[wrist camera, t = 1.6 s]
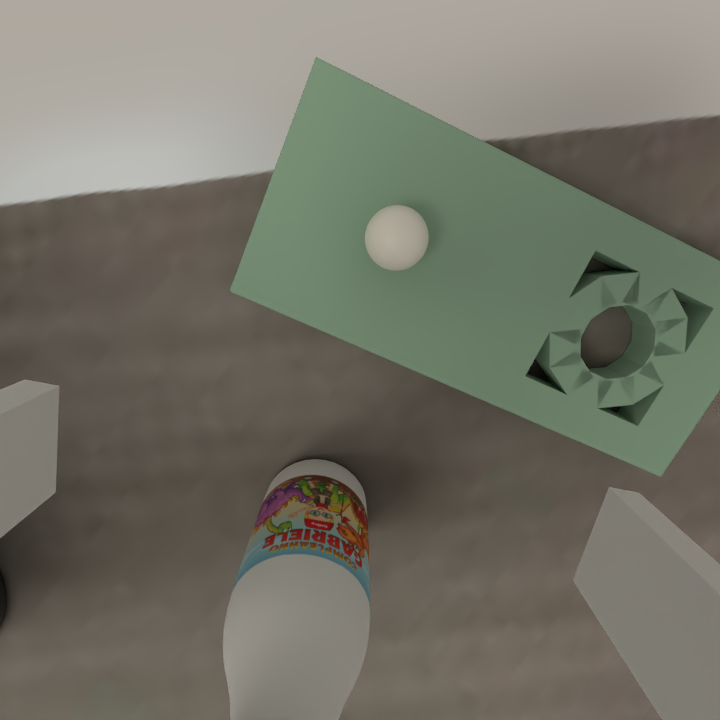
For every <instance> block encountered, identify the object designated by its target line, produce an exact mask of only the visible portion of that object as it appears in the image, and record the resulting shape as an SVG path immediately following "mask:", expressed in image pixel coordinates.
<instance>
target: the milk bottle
mask: <svg viewBox="0 0 720 720" xmlns="http://www.w3.org/2000/svg"><path fill="white" fill-rule="evenodd" d="M369 629H370V571H369V544H368V522H367V505H366V498H365V494H364V491H363V488H362V486H361V484H360V483H359V481H358V480H357V479H356V477H355V476H354V475H353V474H352V473H351V472H350V471H348V470H347V469H345V468H344V467H343V466H341V465H338V464H336V463H334V462H331V461H327V460H320V459H311V460H303V461H300V462H297V463H294V464H292V465H290V466H288V467H286V468H285V469H283V470H282V471H281V472H280V473H279V474H278V475H277V476H276V477H275V478H274V479H273V481H272V482H271V484H270V486H269V488H268V490H267V493H266V495H265V498H264V500H263V503H262V506H261V509H260V511H259V514H258V517H257V520H256V523H255V525H254V528H253V531H252V534H251V537H250V540H249V542H248V545H247V548H246V551H245V554H244V557H243V560H242V563H241V566H240V569H239V572H238V575H237V578H236V581H235V584H234V588H233V591H232V594H231V598H230V601H229V604H228V608H227V614H226V619H225V624H224V634H223V659H224V667H225V673H226V678H227V684H228V690H229V698H230V720H339V717H340V714H341V712H342V709H343V707H344V705H345V703H346V701H347V699H348V696H349V694H350V693H351V691H352V689H353V687H354V684H355V682H356V680H357V678H358V675H359V673H360V670H361V667H362V664H363V661H364V658H365V654H366V649H367V644H368V638H369Z"/></svg>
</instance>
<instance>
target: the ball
mask: <svg viewBox="0 0 720 720" xmlns="http://www.w3.org/2000/svg"><path fill="white" fill-rule="evenodd" d="M428 240H429V234H428V229H427V225H426V223H425V221H424V219H423V218H422V217H421V215H420V214H419V213H418V212H416V211H415V210H414V209H412V208H410V207H407V206H403V205H392V206H388V207H385V208H383V209H381V210H380V211H378V212H377V213H376V214H375V215H374V216H373V217H372V218H371V220H370V221H369V223H368V225H367V228H366V232H365V245H366V249H367V252H368V254H369V256H370V257H371V259H372V260H373V261H374V262H375V263H376V264H377V265H379V266H380V267H382V268H384V269H387V270H392V271H400V270H405V269H408V268H410V267H412V266H413V265H415V264H416V263H417V262H418V261H419V260H420V259H421V258H422V257H423V255H424V253H425V251H426V249H427V246H428Z"/></svg>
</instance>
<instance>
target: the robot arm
mask: <svg viewBox="0 0 720 720" xmlns="http://www.w3.org/2000/svg"><path fill="white" fill-rule="evenodd" d="M58 411H59V386H58V385H52V384H47V383H41V382H36V381H30V380H22V381H20V382H17V383H15V384H12V385H10V386H8V387H5V388H3V389H0V538H1V537H2V536H4V535H5V534H6V533H7V532H8V531H10V530H11V529H12V528H13V527H14V526H16V525H17V524H18V523H19V522H20V521H22V520H23V519H24V518H25V517H27V516H28V515H29V514H30V513H31V512H33V511H34V510H35V509H36V508H37V507H39V506H40V505H41V504H42V503H43V502H45V501H46V500H47V499H48V498H49V497H51V496H52V495H53V494H54V493H56V473H57V442H58ZM573 582H574V583H575V585H576V586H577V588H578V589H579V591H580V592H581V594H582V596H583V597H584V599H585V600H586V602H587V603H588V605H589V607H590V608H591V610H592V611H593V613H594V614H595V616H596V618H597V619H598V621H599V622H600V624H601V625H602V627H603V628H604V630H605V632H606V633H607V635H608V636H609V638H610V639H611V641H612V643H613V644H614V646H615V647H616V649H617V650H618V652H619V654H620V655H621V657H622V658H623V660H624V661H625V663H626V665H627V666H628V668H629V669H630V671H631V672H632V674H633V675H634V677H635V679H636V680H637V682H638V683H639V685H640V686H641V688H642V690H643V691H644V693H645V694H646V696H647V697H648V699H649V701H650V702H651V704H652V705H653V707H654V708H655V710H656V711H657V713H658V715H659V716H660V718H661V719H662V720H720V564H719V563H718V562H716V561H715V560H714V559H713V558H712V557H711V556H710V555H709V554H707V553H706V552H705V551H704V550H703V549H702V548H701V547H700V546H698V545H697V544H696V543H695V542H694V541H693V540H692V539H690V538H689V537H688V536H687V535H686V534H685V533H684V532H683V531H681V530H680V529H679V528H678V527H677V526H676V525H675V524H674V523H672V522H671V521H670V520H669V519H668V518H667V517H666V516H665V515H663V514H662V513H661V512H660V511H659V510H658V509H657V508H656V507H654V506H653V505H652V504H651V503H650V502H649V501H648V500H647V499H645V498H644V497H643V496H642V495H641V494H640V493H638V492H633V491H628V490H622V489H617V488H611V487H609V488H608V491H607V493H606V496H605V499H604V501H603V504H602V506H601V509H600V512H599V514H598V517H597V519H596V522H595V525H594V527H593V530H592V532H591V535H590V537H589V540H588V543H587V545H586V548H585V550H584V553H583V556H582V558H581V561H580V563H579V566H578V568H577V571H576V574H575V576H574V579H573ZM5 606H6V596H5V588H4V584H3V581H2V578H1V575H0V624H1V622H2V619H3V617H4V612H5Z"/></svg>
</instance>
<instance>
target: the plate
mask: <svg viewBox="0 0 720 720" xmlns="http://www.w3.org/2000/svg"><path fill="white" fill-rule="evenodd" d="M392 205H403V206H407V207H410V208H412V209H414V210H415V211H416V212H418V213H419V214H420V215H421V217H422V218H423V219H424V221H425V223H426V225H427V229H428V234H429V240H428V246H427V249H426V251H425V253H424V255H423V257H422V258H421V259H420V260H419V261H418V262H417V263H416V264H415V265H413V266H412V267H410V268H408V269H405V270H400V271H392V270H387V269H384V268H382V267H380V266H379V265H377V264H376V263H375V262H374V261H373V260H372V259H371V257H370V256H369V254H368V252H367V249H366V245H365V232H366V228H367V225H368V223H369V221H370V220H371V218H372V217H373V216H374V215H375V214H376V213H377V212H378V211H380V210H381V209H383V208H385V207H388V206H392ZM591 258H594V259H596V260H598V261H600V262H602V263H604V264H606V265H608V266H610V267H612V268H614V269H616V270H611V271H601V272H592V273H583V272H584V270H585V268H586V267H587V265H588V263H589V261H590V260H591ZM230 292H233V293H235V294H237V295H240V296H242V297H244V298H246V299H249V300H251V301H253V302H256V303H258V304H260V305H263V306H265V307H267V308H270V309H272V310H274V311H277V312H279V313H281V314H284V315H286V316H288V317H291V318H293V319H295V320H298V321H300V322H302V323H305V324H307V325H309V326H312V327H314V328H316V329H319V330H321V331H323V332H325V333H328V334H330V335H332V336H335V337H337V338H339V339H342V340H344V341H346V342H349V343H351V344H353V345H356V346H358V347H360V348H363V349H365V350H367V351H370V352H372V353H374V354H377V355H379V356H381V357H384V358H386V359H388V360H391V361H393V362H395V363H397V364H400V365H402V366H404V367H407V368H409V369H411V370H414V371H416V372H418V373H421V374H423V375H425V376H428V377H430V378H432V379H435V380H437V381H439V382H442V383H444V384H446V385H449V386H451V387H453V388H456V389H458V390H460V391H463V392H465V393H467V394H469V395H472V396H474V397H476V398H479V399H481V400H483V401H486V402H488V403H490V404H493V405H495V406H497V407H500V408H502V409H504V410H507V411H509V412H511V413H514V414H516V415H518V416H521V417H523V418H525V419H528V420H530V421H532V422H535V423H537V424H539V425H542V426H544V427H546V428H548V429H551V430H553V431H555V432H558V433H560V434H562V435H565V436H567V437H569V438H572V439H574V440H576V441H579V442H581V443H583V444H586V445H588V446H590V447H593V448H595V449H597V450H600V451H602V452H604V453H607V454H609V455H611V456H614V457H616V458H618V459H620V460H623V461H625V462H627V463H630V464H632V465H634V466H637V467H639V468H641V469H644V470H646V471H648V472H651V473H653V474H655V475H658V476H660V477H661V476H662V474H663V473H664V471H665V470H666V468H667V467H668V465H669V464H670V462H671V461H672V460H673V458H674V457H675V455H676V454H677V452H678V451H679V449H680V448H681V446H682V445H683V443H684V442H685V440H686V439H687V437H688V436H689V435H690V433H691V432H692V430H693V429H694V427H695V426H696V424H697V423H698V421H699V420H700V418H701V417H702V415H703V414H704V412H705V411H706V410H707V408H708V407H709V405H710V404H711V402H712V401H713V399H714V398H715V396H716V395H717V393H718V392H719V390H720V261H719V260H717V259H715V258H713V257H711V256H709V255H707V254H705V253H703V252H701V251H699V250H697V249H695V248H693V247H691V246H689V245H687V244H686V243H684V242H682V241H680V240H678V239H676V238H674V237H672V236H670V235H668V234H666V233H664V232H662V231H660V230H658V229H656V228H654V227H652V226H650V225H648V224H646V223H644V222H642V221H640V220H638V219H636V218H634V217H632V216H630V215H628V214H626V213H624V212H622V211H620V210H618V209H616V208H614V207H612V206H610V205H608V204H606V203H604V202H602V201H600V200H598V199H596V198H594V197H592V196H590V195H588V194H587V193H585V192H583V191H581V190H579V189H577V188H575V187H573V186H571V185H569V184H567V183H565V182H563V181H561V180H559V179H557V178H555V177H553V176H551V175H549V174H547V173H545V172H543V171H541V170H539V169H537V168H535V167H533V166H531V165H529V164H527V163H525V162H523V161H521V160H519V159H517V158H515V157H513V156H511V155H509V154H507V153H505V152H503V151H501V150H499V149H497V148H495V147H493V146H491V145H489V144H488V143H486V142H484V141H482V140H480V139H478V138H476V137H474V136H472V135H470V134H468V133H466V132H464V131H462V130H460V129H458V128H456V127H454V126H452V125H450V124H448V123H446V122H444V121H442V120H440V119H438V118H436V117H434V116H432V115H430V114H428V113H426V112H424V111H422V110H420V109H418V108H416V107H414V106H412V105H410V104H408V103H406V102H404V101H402V100H400V99H398V98H396V97H394V96H392V95H390V94H388V93H387V92H385V91H383V90H381V89H379V88H377V87H374V86H373V85H371V84H369V83H367V82H365V81H363V80H361V79H359V78H357V77H355V76H353V75H351V74H349V73H347V72H345V71H343V70H341V69H339V68H337V67H335V66H333V65H331V64H329V63H327V62H325V61H323V60H321V59H319V58H317V57H316V58H315V61H314V64H313V66H312V69H311V72H310V75H309V77H308V80H307V83H306V85H305V88H304V91H303V94H302V96H301V99H300V102H299V104H298V107H297V110H296V113H295V116H294V118H293V121H292V124H291V126H290V129H289V132H288V135H287V137H286V140H285V143H284V145H283V148H282V151H281V153H280V156H279V159H278V162H277V164H276V167H275V170H274V172H273V175H272V178H271V181H270V183H269V186H268V189H267V191H266V194H265V197H264V200H263V202H262V205H261V208H260V210H259V213H258V216H257V219H256V221H255V224H254V227H253V229H252V232H251V235H250V238H249V240H248V243H247V246H246V248H245V251H244V254H243V257H242V259H241V262H240V265H239V267H238V270H237V273H236V276H235V278H234V281H233V284H232V286H231V289H230ZM679 300H680V301H682V302H684V303H685V305H684V307H683V308H682V306H681V304H680V302H679ZM616 306H621V307H623V308H624V309H625V311H626V313H627V314H628V316H629V318H630V320H631V321H632V337H631V342H630V344H629V345H628V347H627V348H626V350H625V352H624V353H623V355H622V357H620V358H619V359H617V360H616V361H614V362H612V363H611V364H609V365H608V366H606V367H601V368H591V369H588V368H587V366H586V365H585V363H584V361H583V360H582V358H581V357H580V352H581V336H582V334H583V333H584V331H585V329H586V327H587V326H588V324H589V322H590V320H591V319H592V318H594V317H595V316H597V315H598V314H600V313H601V312H603V311H604V310H606V309H607V308H609V307H616ZM535 359H536V361H537V362H538V364H539V365H540V367H541V368H542V370H543V372H544V373H545V375H546V376H547V378H548V379H549V381H550V382H551V383H549V382H547V381H544V380H542V379H540V378H538V377H535V376H533V375H531V374H529V373H527V372H528V370H529V368H530V367H531V365H532V363H533V361H534V360H535ZM615 406H621V407H620V409H619V410H618V412H617V413H616V412H614V411H612V410H610V409H607V408H606V407H615Z"/></svg>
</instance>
